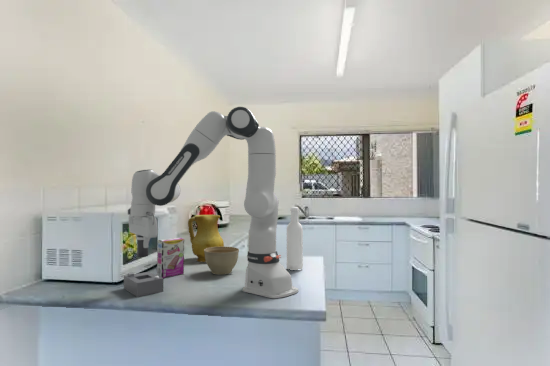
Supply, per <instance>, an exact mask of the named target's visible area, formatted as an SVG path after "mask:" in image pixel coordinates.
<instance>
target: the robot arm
mask: <svg viewBox="0 0 550 366" xmlns="http://www.w3.org/2000/svg"><path fill="white" fill-rule="evenodd" d="M226 136H227V137H230V138H233V139H236V140H241V141H242V140H245V141H246V143H247V153H248V154H247V156H248V157H247V164H248V165H247V182H246V188H245V198H244V202H243V206H244V211H245V212H246V213H247V214H248V215H249V216H251V218H250V224H249V229H248V251H247V255H246V257H247V266H246V269H245V280H244V286H243V287H242V292H244V293H249V294H251V295H252V294H253V295H256V296H257V295H258V296H261V297H265V298H269V299H279V298H284V297H285V298H286V297H288V296H293V295H295V294H297V293H298V292H299V288H298V287H296V286H293V281H292V275H291V274H290V273H289V271H288V270H287V268H285V267H284V265H282V264H281V262H280V259H281V258H282V257H281V256H282V255H281V254H279V253H278V251H277V229H278V214H279V198H278V197H279V196H278V195H277V194H276V193H275V183H276V182H275V181H276V180H275V179H276V174H277V173H276V172H277V167H276V166H277V163H276V162H277V158H276V157H277V155H276V154H277V153H276V151H277V150H276V142H275V135H274V133H273V131H272V129H270V127H265V126H260V125H259V122H258V120H257V119H256V117H255V115H254V114H253V112H252V111H251V110H250V109H249V108H247V107H245V106H237V107H233V108H232V109H231V110H230V111H229V112H228V114H227V115H224V114H222V113H221V112H219V111H209V112H208V113H207V114H206V115H205V116H203V117H202V118H201V120H200V121H199V122H198V123H197V124H196V126H194V128H193V130H192V131H191V133H190V134H189V135H188V137H187V138H186V140H185V142H184V144H183V146H182V147H181V149H180V151H179V152H178V154H177V155H176V156H175V157H174V159H173V160H172V161H171V162H170V164H169V165H168V166H167V167H166V169H165V170H164V171H163V172H162V173H161V174H159V173H158V172H157V171H155V170H154V169H141V170H137V171H135V172H134V173H133V176H132V179H131V196H132V197H131V202H130V203H131V204H130V205H131V206H130V207H129V208H128V209H127V215H128V229H129V232H130V233H131V234H135V238H136V240H137V235H141V236H143V239H144V242H143V248H148V249H149V247H150V246H149V245H150V244H149V243H150V240H151V239H152V238H157V237H158V235H159V231H158V230H159V229H158V220H157V218H156V206H159V207H161V206H166V205H168V204H169V203H173V202H174V201H176V200H178V198H179V196H180V194H181V187H180V185H179V182H180V181H181V180H182V178H183V177H184V176H185V174H186V173H187V172H188V170H190V168H191V167H192V166H193V165H195V164H196V163H197V162H199V161H201V160H204V159H206V158H208V157H209V155H211V154H212V153H213V151H215V149H216V148H217V146H218V145H219V144H220V142H221V140H223V138H224V137H226Z"/></svg>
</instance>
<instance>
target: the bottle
mask: <svg viewBox="0 0 550 366" xmlns="http://www.w3.org/2000/svg"><path fill="white" fill-rule="evenodd" d="M299 210H300V209H299V207H298V206H291V207H290V222H289V223H288V224H287V226H286V270H287V269H291V270H298V269H302V268H303V267H304V262H303V261H304V254H303V252H304V251H303V250H304V245H303V243H304V242H303V241H304V240H303V239H304V238H303V237H304V235H303V226H302V224H301V223H300V222H299ZM303 269H304V268H303ZM303 269H302V270H303Z"/></svg>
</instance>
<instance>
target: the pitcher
mask: <svg viewBox="0 0 550 366" xmlns="http://www.w3.org/2000/svg"><path fill="white" fill-rule="evenodd" d="M220 218H221V216H220V215H219V214H218V215H217V214H198V215H197V214H196V215H194V216H192V217H190V218H189V219H188V221H187V225H188V234H189V238H190V240H189V241H190V243H191V249H192V253H193V255H195V256H196V257H197V259H196V262H199V263H206V260H205V253H204V249H206V248H211V247H225V244H224V239H223V238H222V236H221V235H220V231H219V228H218V222H219V219H220ZM193 222H195V223H196V225H197V229H196V233H194V229H193Z"/></svg>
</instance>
